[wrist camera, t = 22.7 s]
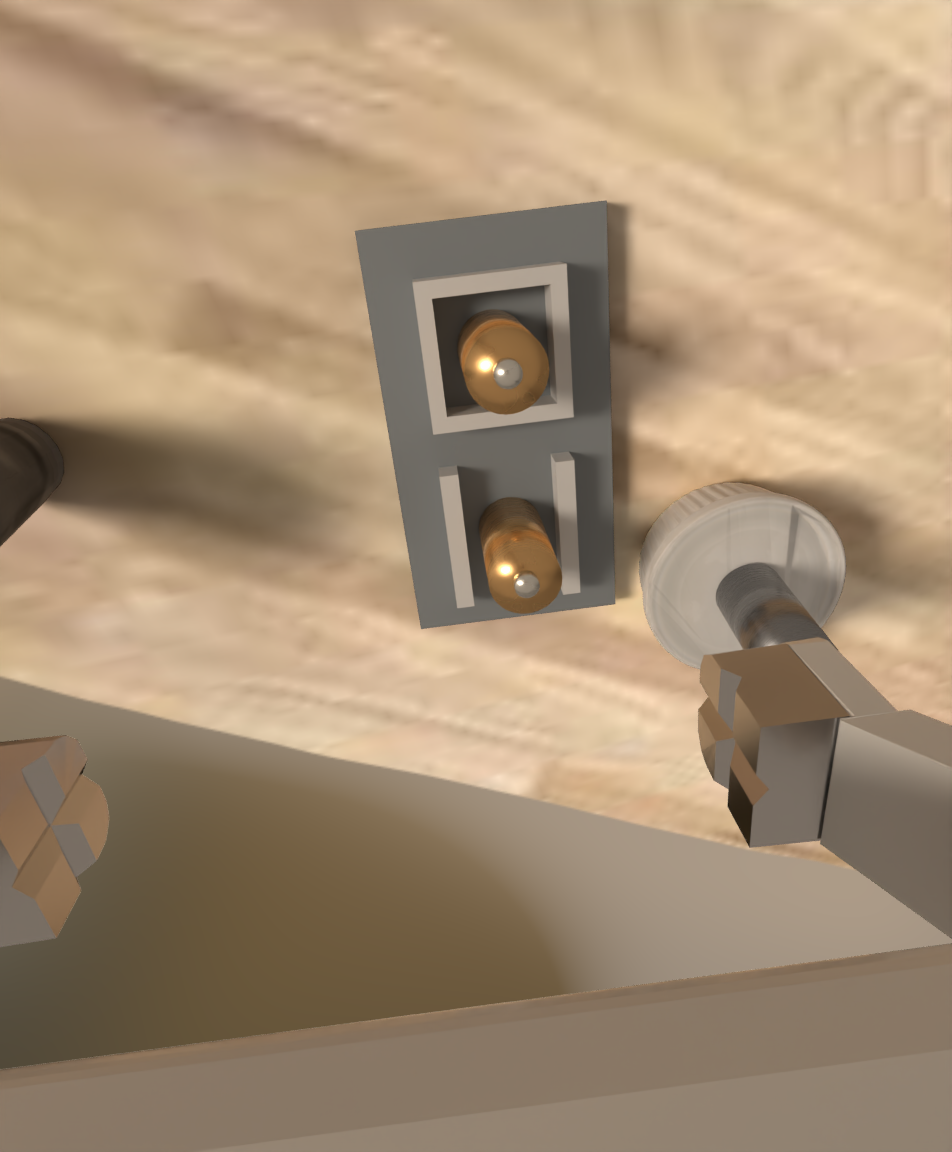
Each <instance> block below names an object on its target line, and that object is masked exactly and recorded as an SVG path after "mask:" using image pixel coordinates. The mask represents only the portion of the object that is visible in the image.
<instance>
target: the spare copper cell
mask: <svg viewBox="0 0 952 1152" xmlns="http://www.w3.org/2000/svg"><path fill="white" fill-rule="evenodd" d="M479 534H480V539H481V545H482V551H483V556H484V562H485V567H486V573H487V578H488V584H489V589H490V593H491V595H492V597H493V599H494V600H495V601H496V603H497V604H498V605H500V606H501V607H502V608H504V609H506V610H508V611H510V612H514V613H519V614H527V613H533V612H536V611H539V610H541V609H543V608H545V607H547V606H548V605H549V604H550V603H551V602H553V601H554V599H555V598H556V597H557V595H558V593H559V591H560V589H561V586H562V571H561V568H560V566H559V563H558V561H557V558H556V556H555V553H554V551H553V548H552V546H551V543H550V541H549V538H548V536H547V533H546V530H545V528H544V525H543V523H542V520H541V518H540V515H539V513H538V511H537V510H536V508H535V507H534V506H533V505H532V504H531V503H529V502H528V501H526V500H524V499H521V498H517V497H506V498H501V499H499V500H496V501H495V502H493V503H491V504H490V505H489V506H488V507H487V508H486V509H485V510H484V512H483V514H482V515H481V518H480V521H479Z"/></svg>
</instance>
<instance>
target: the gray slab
mask: <svg viewBox="0 0 952 1152" xmlns="http://www.w3.org/2000/svg"><path fill="white" fill-rule="evenodd" d="M355 235H356V241H357V247H358V253H359V259H360V265H361V271H362V277H363V283H364V289H365V295H366V301H367V307H368V313H369V319H370V325H371V331H372V337H373V343H374V349H375V355H376V361H377V367H378V373H379V379H380V385H381V391H382V397H383V403H384V409H385V415H386V421H387V427H388V433H389V439H390V445H391V451H392V457H393V463H394V469H395V475H396V481H397V487H398V493H399V499H400V505H401V511H402V517H403V523H404V529H405V535H406V541H407V547H408V553H409V559H410V565H411V571H412V577H413V583H414V589H415V595H416V601H417V607H418V613H419V619H420V625H421V629H425V628H433V627H440V626H448V625H456V624H464V623H472V622H479V621H487V620H495V619H503V618H511V617H519V616H526V615H534V614H542V613H550V612H558V611H565V610H573V609H581V608H589V607H597V606H604V605H612V604H615V569H614V523H613V476H612V429H611V383H610V336H609V289H608V242H607V201H598V202H590V203H582V204H574V205H565V206H557V207H549V208H540V209H532V210H524V211H516V212H507V213H499V214H491V215H483V216H474V217H466V218H458V219H449V220H441V221H433V222H425V223H416V224H408V225H400V226H391V227H383V228H375V229H367V230H358V231H355ZM488 309H498V310H502V311H505V312H507V313H509V314H511V315H512V316H514V317H515V318H516V319H517V320H518V321H519V322H520V323H521V324H522V325H523V326H524V327H525V328H526V329H527V330H528V331H529V332H530V333H531V334H532V335H533V336H534V337H535V338H536V339H537V340H538V341H539V342H540V343H541V345H542V346H543V348H544V350H545V352H546V354H547V357H548V361H549V378H548V382H547V385H546V388H545V390H544V392H543V393H542V395H541V396H540V398H539V399H538V400H537V401H536V402H535V403H534V404H533V405H532V406H530V407H529V408H527V409H525V410H523V411H521V412H518V413H515V414H508V415H504V414H496V413H493V412H490V411H488V410H486V409H484V408H483V407H481V406H480V405H479V404H478V403H477V402H476V401H475V400H474V399H473V398H472V396H471V395H470V393H469V391H468V388H467V386H466V382H465V379H464V375H463V371H462V368H461V364H460V360H459V357H458V352H457V342H458V337H459V333H460V331H461V329H462V327H463V325H464V324H465V323H466V321H467V320H468V319H469V318H470V317H472V316H473V315H475V314H476V313H478V312H481V311H484V310H488ZM506 497H517V498H521V499H524V500H526V501H528V502H529V503H531V504H532V505H533V506H534V507H535V508H536V510H537V511H538V513H539V515H540V518H541V520H542V523H543V525H544V528H545V530H546V533H547V536H548V538H549V541H550V543H551V546H552V548H553V551H554V553H555V556H556V558H557V561H558V563H559V566H560V568H561V571H562V586H561V589H560V591H559V593H558V595H557V597H556V598H555V599H554V601H553V602H551V603H550V604H549V605H548V606H547V607H545V608H543V609H541V610H539V611H536V612H533V613H527V614H519V613H514V612H510V611H508V610H506V609H504V608H502V607H501V606H500V605H498V604H497V603H496V601H495V600H494V599H493V597H492V595H491V593H490V589H489V584H488V578H487V573H486V567H485V562H484V556H483V551H482V545H481V539H480V534H479V521H480V518H481V515H482V514H483V512H484V510H485V509H486V508H487V507H488V506H489V505H490V504H491V503H493V502H495V501H496V500H499V499H501V498H506Z"/></svg>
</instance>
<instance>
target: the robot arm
mask: <svg viewBox="0 0 952 1152" xmlns="http://www.w3.org/2000/svg"><path fill="white" fill-rule="evenodd" d="M700 683H701V685H702V687H703V688H704V690H705V692H706V693H707V695H708V698H707V699H706V701H705V702H704V703H703V704H702V706H701V707H700V708H699V709H698V733H699V739H700V745H701V751H702V754H703V757H704V760H705V762H706V765H707V768H708V770H709V772H710V774H711V776H712V778H713V780H714V781H716V782H717V783H719V784H721V785H722V786H724V787H726V788H727V789H729V792H728V808H729V810H730V812H731V814H732V816H733V818H734V819H735V821H736V823H737V825H738V827H739V829H740V831H741V832H742V834H743V836H744V838H745V840H746V842H747V844H748V846H749V847H750V848H751V847H761V846H771V845H780V844H790V843H800V842H810V841H819V840H821V842H820V844H821V845H823V846H824V847H825V848H827V849H828V850H830V851H831V852H832V853H834V854H835V855H836V856H838V857H839V858H841V859H842V860H843V861H845V862H846V863H848V864H849V865H850V866H852V867H853V868H854V869H856V870H857V871H859V872H860V873H861V874H863V875H864V876H866V877H867V878H868V879H870V880H871V881H872V882H874V883H875V884H877V885H878V886H880V887H881V888H882V889H884V890H885V891H886V892H888V893H889V894H890V895H892V896H893V897H895V898H896V899H897V900H899V901H900V902H902V903H903V904H904V905H906V906H907V907H908V908H910V909H911V910H913V911H914V912H915V913H917V914H918V915H920V916H921V917H923V918H924V919H925V920H927V921H928V922H929V923H931V924H932V925H933V926H935V927H936V928H938V929H939V930H940V931H942V932H943V933H944V934H946V935H947V936H949V937H950V938H952V726H951V725H949V724H946V723H943V722H941V721H938V720H936V719H933V718H931V717H928V716H926V715H923V714H920V713H918V712H915V711H913V710H904V711H897V710H896V709H895V708H894V707H893V706H892V705H891V704H890V703H889V702H888V701H887V700H886V699H885V698H884V697H883V696H882V694H881V693H880V692H879V691H878V690H877V689H876V688H875V687H874V686H873V685H872V684H871V683H870V682H869V681H868V680H867V679H866V678H865V677H864V676H863V675H862V674H861V673H860V672H859V671H858V670H857V669H856V668H855V667H854V666H853V665H852V664H851V663H850V662H849V661H848V660H847V659H846V658H845V657H844V656H843V655H842V654H841V653H840V652H839V651H838V650H837V649H836V648H835V647H834V646H833V645H832V644H831V643H830V642H829V641H828V640H825V639H823V638H820V637H817V638H811V639H804V640H798V641H792V642H785V643H781V644H779V645H771V646H764V647H757V648H750V649H743V650H736V651H729V652H721V653H714V654H707V655H704V656H703V659H702V662H701V666H700ZM87 761H88V759H87V757H86V755H85V753H84V751H83V749H82V747H81V745H80V743H79V742H78V740H77V739H74V738H72V737H69V736H67V735H63V736H53V737H44V738H34V739H25V740H15V741H6V742H0V947H4V946H10V945H16V944H23V943H29V942H35V941H42V940H48V939H54V938H57V936H58V934H59V932H60V930H61V928H62V927H63V925H64V923H65V921H66V919H67V917H68V915H69V913H70V911H71V909H72V907H73V905H74V903H75V902H76V899H77V898H78V896H79V894H80V892H81V888H80V885H79V883H78V880H77V876H78V875H80V874H81V873H82V872H83V871H85V870H86V869H87V868H88V867H89V866H91V865H92V864H93V863H94V862H95V861H97V859H98V857H99V855H100V853H101V851H102V848H103V846H104V844H105V842H106V838H107V831H108V824H109V814H108V808H107V801H106V799H105V797H104V795H103V792H102V790H101V787H100V786H99V785H97V784H96V783H94V782H93V781H91V780H89V779H88V778H87V777H85V776H83V775H82V773H83V770H84V768H85V766H86V763H87ZM0 1152H952V943H951V944H943V945H936V946H928V947H921V948H914V949H906V950H898V951H891V952H884V953H876V954H869V955H861V956H854V957H846V958H838V959H830V960H823V961H815V962H808V963H800V964H792V965H785V966H778V967H770V968H763V969H755V970H748V971H740V972H732V973H725V974H717V975H710V976H702V977H694V978H687V979H679V980H672V981H665V982H657V983H649V984H642V985H634V986H626V987H619V988H611V989H605V990H596V991H589V992H581V993H573V994H566V995H558V996H551V997H543V998H536V999H528V1000H521V1001H513V1002H505V1003H498V1004H491V1005H483V1006H475V1007H468V1008H461V1009H453V1010H446V1011H438V1012H430V1013H423V1014H415V1015H408V1016H400V1017H393V1018H386V1019H377V1020H370V1021H362V1022H355V1023H347V1024H340V1025H332V1026H325V1027H317V1028H310V1029H303V1030H294V1031H288V1032H279V1033H272V1034H264V1035H257V1036H249V1037H242V1038H234V1039H227V1040H219V1041H212V1042H204V1043H197V1044H189V1045H182V1046H174V1047H167V1048H160V1049H152V1050H144V1051H136V1052H129V1053H121V1054H114V1055H106V1056H99V1057H91V1058H85V1059H76V1060H68V1061H61V1062H53V1063H46V1064H38V1065H31V1066H23V1067H16V1068H8V1069H1V1070H0Z"/></svg>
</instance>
